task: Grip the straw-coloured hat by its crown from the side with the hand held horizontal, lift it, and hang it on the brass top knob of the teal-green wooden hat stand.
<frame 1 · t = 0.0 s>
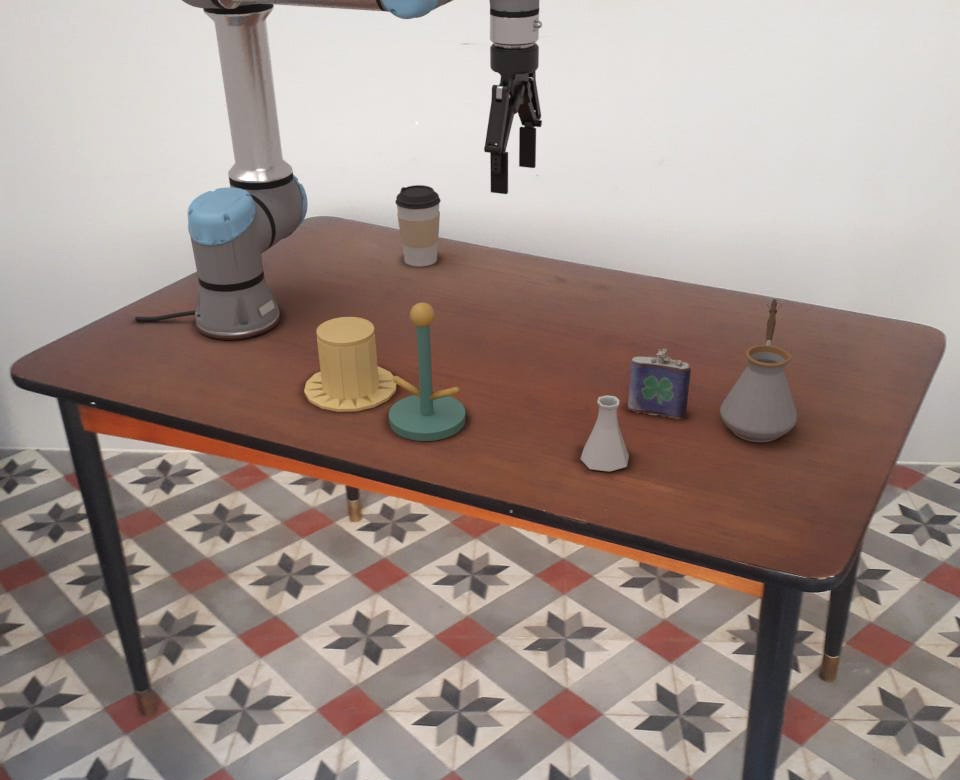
hand: (513, 179, 173), 28 cm above the table, tool pointing down, fingers open, 13 cm apart
flask: (604, 460, 154), on the table
coffee cup: (420, 260, 217), on the table
hat: (350, 388, 173), on the table
coffee pot: (757, 414, 165), on the table
flask 2: (656, 412, 165), on the table
hat stand: (427, 420, 164), on the table
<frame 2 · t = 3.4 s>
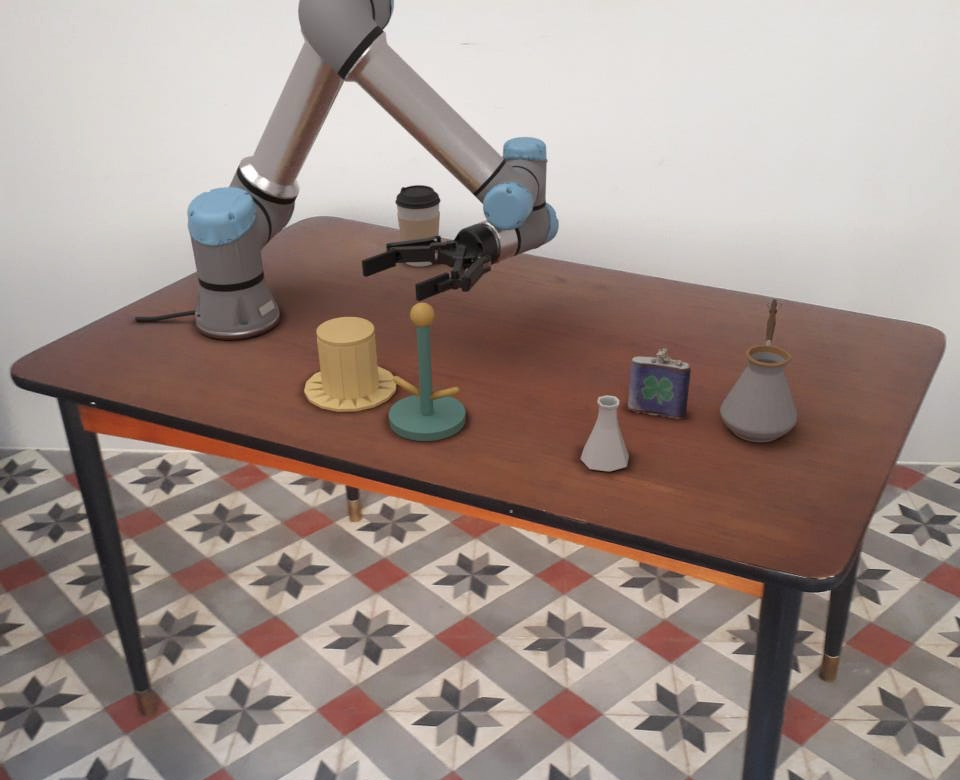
hand: (389, 280, 169), 16 cm above the table, tool horizontal, fingers open, 13 cm apart
nothing on the table moved.
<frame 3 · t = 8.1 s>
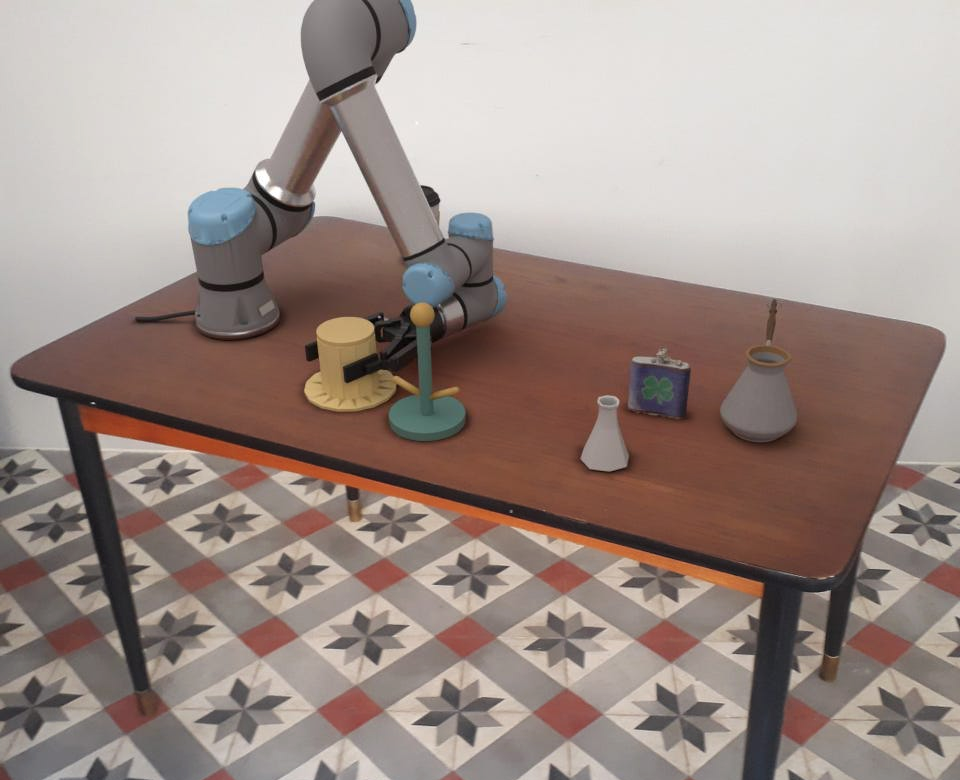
hand: (325, 364, 167), 6 cm above the table, tool horizontal, fingers closed on hat, 9 cm apart
hat: (350, 388, 173), on the table, touching gripper
everything else where it was.
when the fingers open (16 cm above the table, at t = 19.2 s): hat stays where it is, resting on hat stand.
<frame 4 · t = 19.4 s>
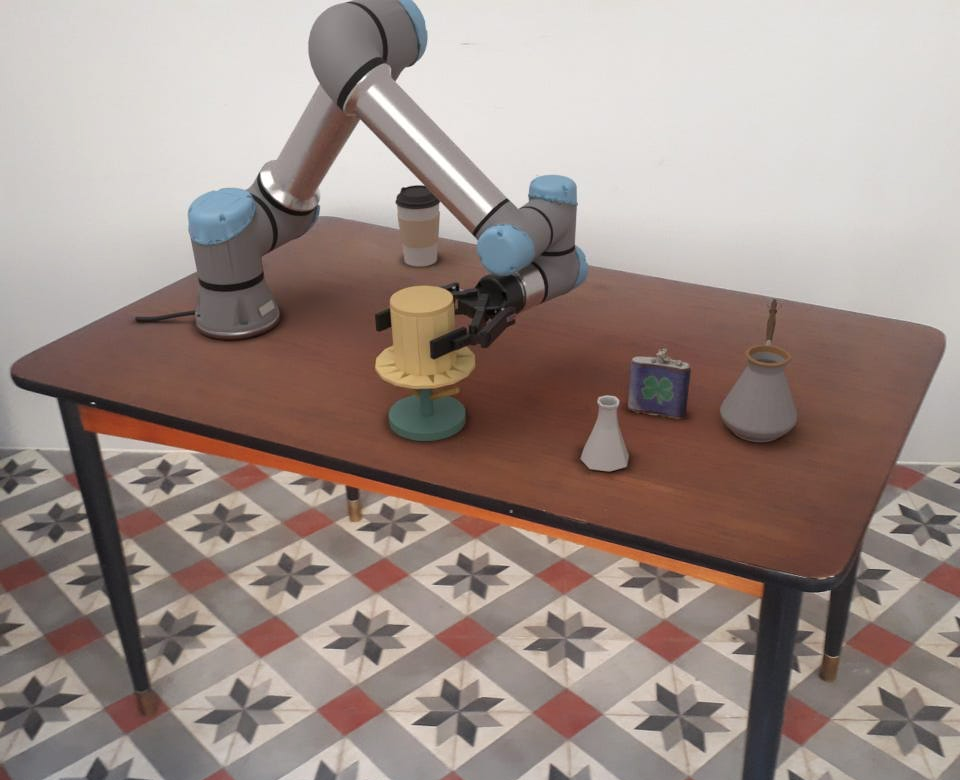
hand: (403, 336, 153), 16 cm above the table, tool horizontal, fingers open, 12 cm apart
hat: (425, 364, 158), point 10 cm above the table, touching hat stand
everything else where it was.
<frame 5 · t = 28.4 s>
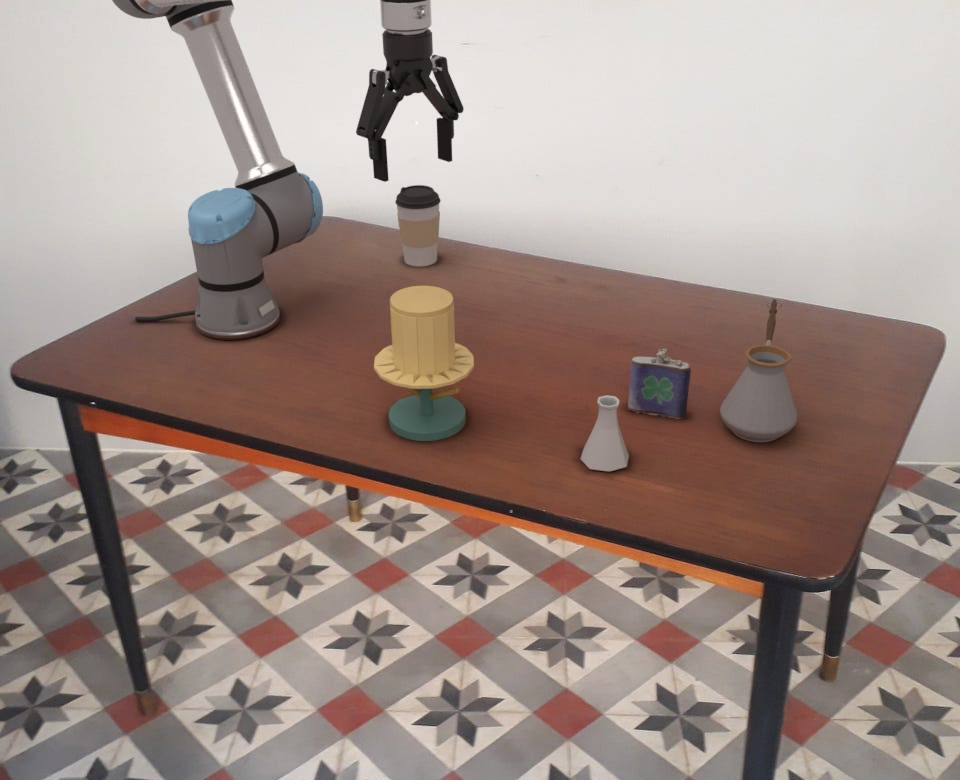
hand: (413, 169, 169), 31 cm above the table, tool pointing down, fingers open, 13 cm apart
nothing on the table moved.
at the end: hat 0.1 cm off-centre on the hat stand, point 10.0 cm above the hat stand's base; the gripper is holding nothing; hat tilted 1° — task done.
